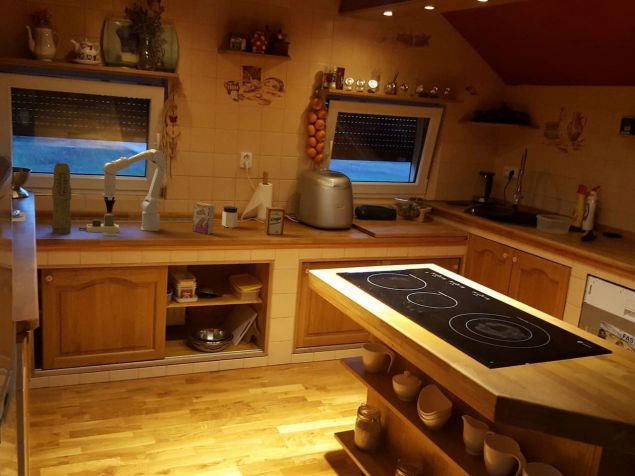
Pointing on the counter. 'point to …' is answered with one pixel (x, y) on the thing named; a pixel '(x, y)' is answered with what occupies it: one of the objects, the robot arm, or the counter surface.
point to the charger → (109, 220)
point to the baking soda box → (274, 220)
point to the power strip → (101, 228)
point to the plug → (96, 222)
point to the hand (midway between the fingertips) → (109, 211)
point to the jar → (229, 216)
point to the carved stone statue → (61, 199)
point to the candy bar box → (203, 218)
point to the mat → (109, 234)
